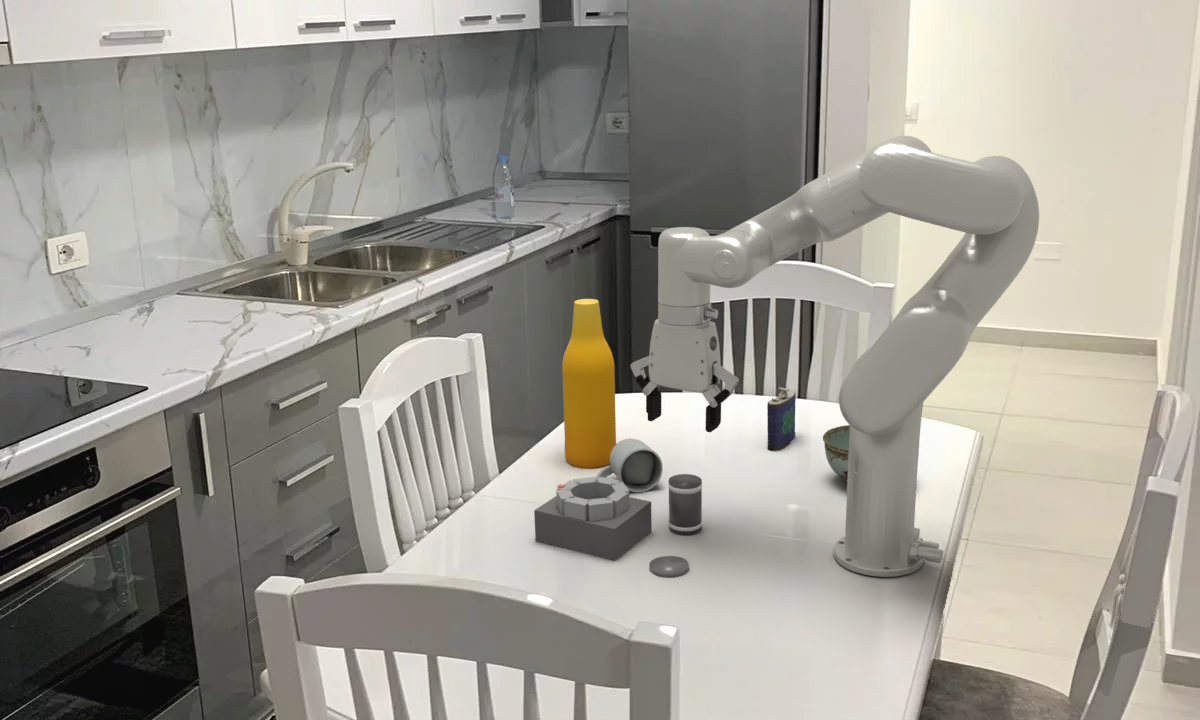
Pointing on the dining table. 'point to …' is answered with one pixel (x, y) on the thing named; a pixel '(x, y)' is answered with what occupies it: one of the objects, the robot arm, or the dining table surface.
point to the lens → (685, 504)
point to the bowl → (838, 450)
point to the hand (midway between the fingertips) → (682, 423)
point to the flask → (781, 420)
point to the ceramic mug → (634, 465)
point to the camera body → (593, 518)
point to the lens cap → (669, 566)
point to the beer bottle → (588, 390)
